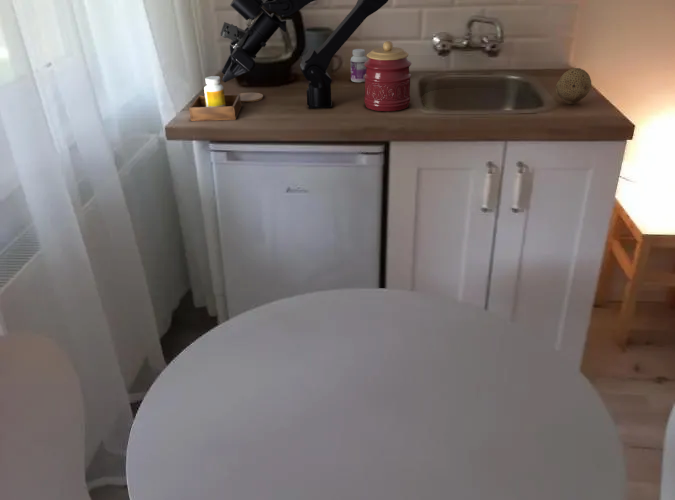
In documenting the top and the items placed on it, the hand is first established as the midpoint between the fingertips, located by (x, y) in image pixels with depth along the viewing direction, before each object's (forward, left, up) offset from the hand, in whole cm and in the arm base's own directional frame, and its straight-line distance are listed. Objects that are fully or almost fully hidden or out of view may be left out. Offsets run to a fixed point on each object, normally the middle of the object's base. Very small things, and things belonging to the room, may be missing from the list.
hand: (222, 76), depth 171 cm
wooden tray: (+3, 0, -10) cm, 10 cm away
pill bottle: (-38, -32, -10) cm, 51 cm away
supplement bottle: (+3, 0, -10) cm, 10 cm away
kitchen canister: (-45, -3, -10) cm, 46 cm away
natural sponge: (-96, +2, -10) cm, 96 cm away
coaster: (-4, -15, -10) cm, 18 cm away
